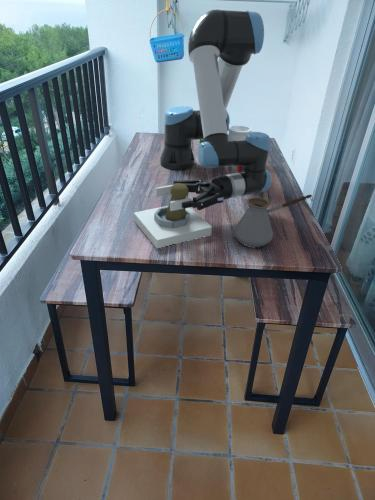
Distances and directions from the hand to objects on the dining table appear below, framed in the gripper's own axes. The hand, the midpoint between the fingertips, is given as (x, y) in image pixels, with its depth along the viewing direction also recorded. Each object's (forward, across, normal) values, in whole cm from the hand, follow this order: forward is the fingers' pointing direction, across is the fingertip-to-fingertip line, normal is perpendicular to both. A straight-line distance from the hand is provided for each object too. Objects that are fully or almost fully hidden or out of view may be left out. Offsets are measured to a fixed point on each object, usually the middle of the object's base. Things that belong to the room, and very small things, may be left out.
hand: (163, 199), depth 105 cm
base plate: (-3, 0, -10) cm, 11 cm away
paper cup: (-43, +18, -11) cm, 48 cm away
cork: (-3, -1, -6) cm, 7 cm away
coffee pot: (-26, -19, -11) cm, 34 cm away
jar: (-56, +42, -11) cm, 71 cm away
